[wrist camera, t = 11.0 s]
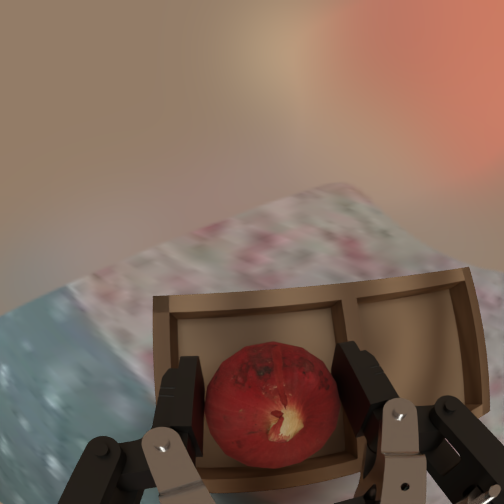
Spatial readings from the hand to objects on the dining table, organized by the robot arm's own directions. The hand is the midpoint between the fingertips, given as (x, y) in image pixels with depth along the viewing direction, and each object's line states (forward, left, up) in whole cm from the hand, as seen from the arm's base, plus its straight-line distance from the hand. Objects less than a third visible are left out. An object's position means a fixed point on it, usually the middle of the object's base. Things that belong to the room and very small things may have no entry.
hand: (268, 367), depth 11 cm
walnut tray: (+6, -2, -7) cm, 9 cm away
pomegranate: (0, -2, -4) cm, 5 cm away
